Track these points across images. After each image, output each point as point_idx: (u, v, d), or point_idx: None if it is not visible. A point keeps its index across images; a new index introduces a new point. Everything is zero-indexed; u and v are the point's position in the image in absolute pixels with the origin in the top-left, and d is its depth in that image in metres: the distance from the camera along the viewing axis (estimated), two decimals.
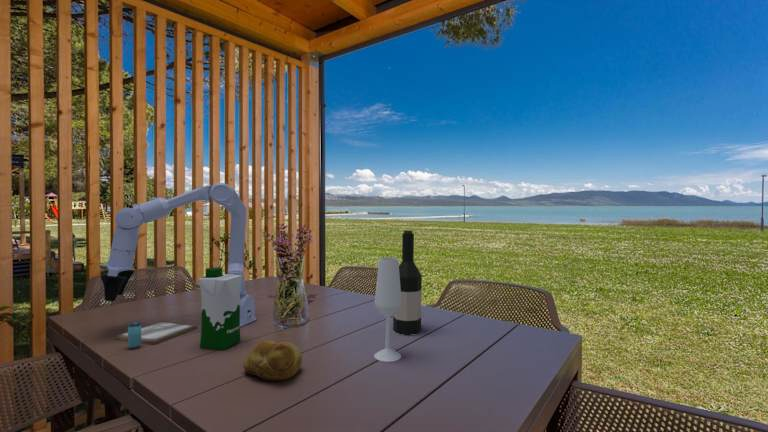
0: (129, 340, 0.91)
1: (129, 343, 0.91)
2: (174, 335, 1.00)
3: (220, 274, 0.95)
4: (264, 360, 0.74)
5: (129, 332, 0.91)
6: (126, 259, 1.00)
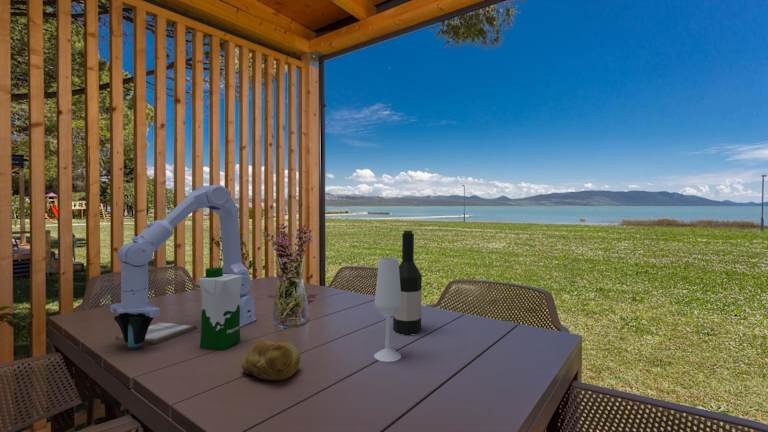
0: (129, 340, 0.91)
1: (129, 343, 0.91)
2: (174, 335, 1.00)
3: (220, 274, 0.95)
4: (262, 360, 0.74)
5: (129, 332, 0.91)
6: (147, 297, 0.93)
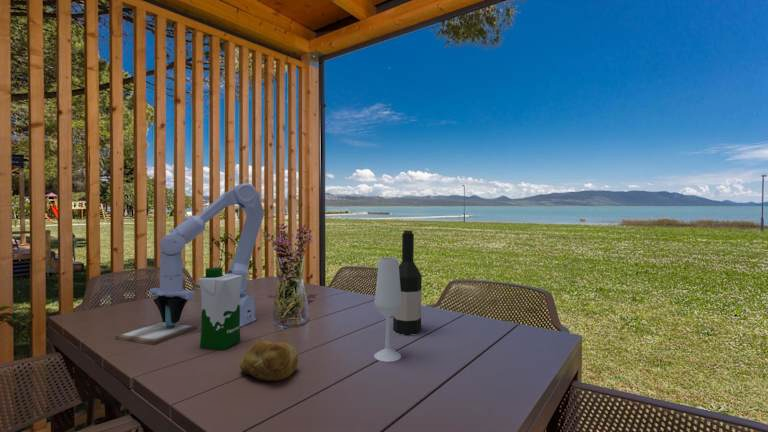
0: (166, 319, 1.04)
1: (166, 322, 1.04)
2: (174, 335, 1.00)
3: (220, 274, 0.95)
4: (259, 361, 0.74)
5: (166, 313, 1.04)
6: (182, 282, 1.06)
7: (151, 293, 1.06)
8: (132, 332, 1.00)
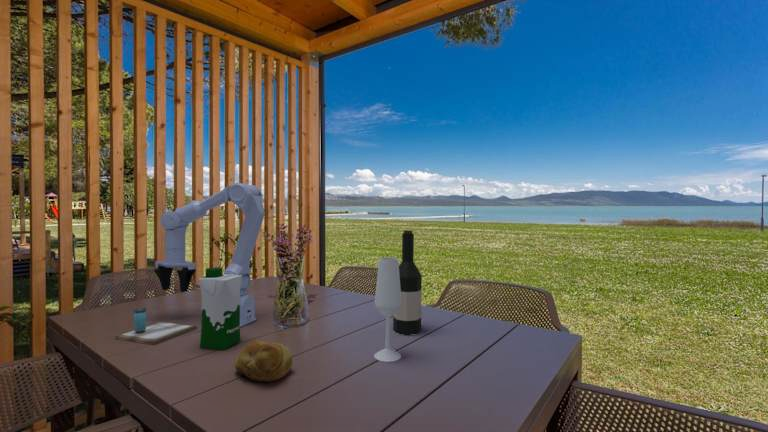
0: (135, 325, 0.99)
1: (135, 328, 0.99)
2: (174, 335, 1.00)
3: (220, 274, 0.95)
4: (252, 361, 0.73)
5: (135, 318, 0.99)
6: None
7: (157, 265, 1.17)
8: (132, 332, 1.00)
